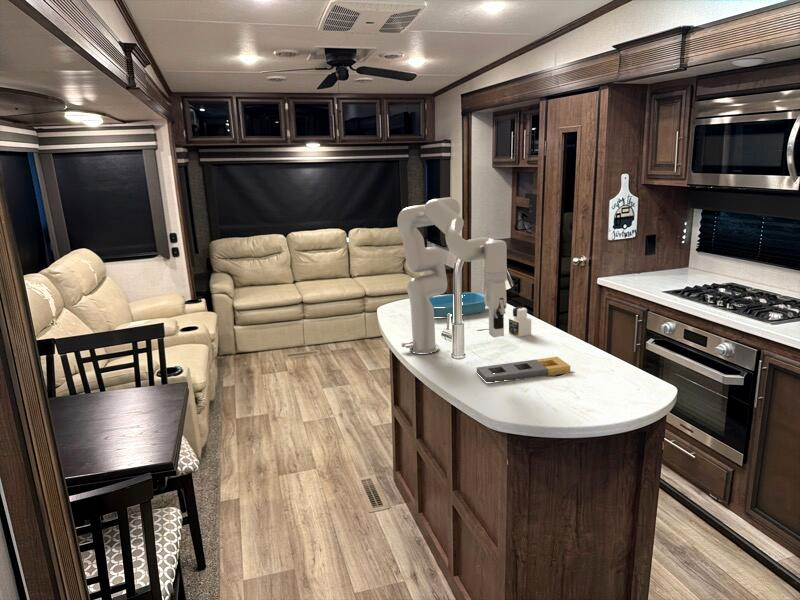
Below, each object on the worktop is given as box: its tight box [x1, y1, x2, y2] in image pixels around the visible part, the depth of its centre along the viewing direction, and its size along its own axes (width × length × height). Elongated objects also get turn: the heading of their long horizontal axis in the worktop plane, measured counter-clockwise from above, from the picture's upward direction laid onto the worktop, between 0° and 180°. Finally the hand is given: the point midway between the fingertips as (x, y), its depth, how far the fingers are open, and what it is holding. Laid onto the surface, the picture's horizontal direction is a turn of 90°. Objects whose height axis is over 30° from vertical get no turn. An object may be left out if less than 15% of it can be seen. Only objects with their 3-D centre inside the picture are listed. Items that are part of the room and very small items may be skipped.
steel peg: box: [488, 307, 505, 338], centre depth 192 cm, size 4×4×10 cm
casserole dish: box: [429, 291, 487, 318], centre depth 281 cm, size 37×22×7 cm, turn 106°
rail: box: [476, 356, 571, 382], centre depth 199 cm, size 32×10×2 cm, turn 101°
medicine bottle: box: [508, 306, 532, 338], centre depth 241 cm, size 7×7×12 cm
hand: (496, 326), depth 193 cm, fingers closed on steel peg, 4 cm apart
